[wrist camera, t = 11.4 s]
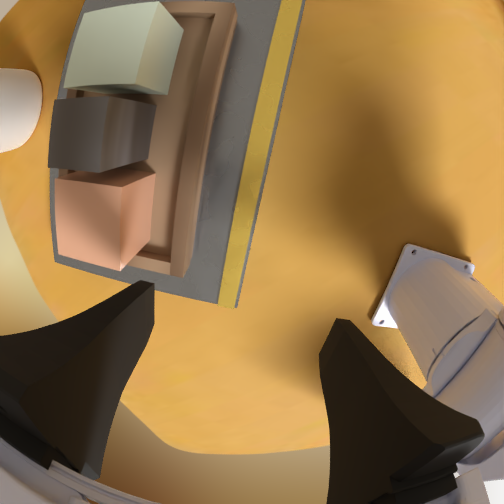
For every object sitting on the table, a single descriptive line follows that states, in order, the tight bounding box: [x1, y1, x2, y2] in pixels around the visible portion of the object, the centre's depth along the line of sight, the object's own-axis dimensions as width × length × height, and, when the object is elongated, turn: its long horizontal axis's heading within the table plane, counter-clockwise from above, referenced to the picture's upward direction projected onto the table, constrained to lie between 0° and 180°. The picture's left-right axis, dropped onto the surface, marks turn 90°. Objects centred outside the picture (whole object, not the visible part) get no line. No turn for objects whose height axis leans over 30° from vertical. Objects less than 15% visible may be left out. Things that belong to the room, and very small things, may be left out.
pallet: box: [48, 1, 238, 278], centre depth 12 cm, size 9×16×7 cm, turn 169°
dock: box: [50, 0, 306, 309], centre depth 16 cm, size 16×22×3 cm
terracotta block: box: [55, 168, 156, 271], centre depth 13 cm, size 4×4×4 cm
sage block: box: [63, 1, 184, 95], centre depth 9 cm, size 4×4×4 cm
